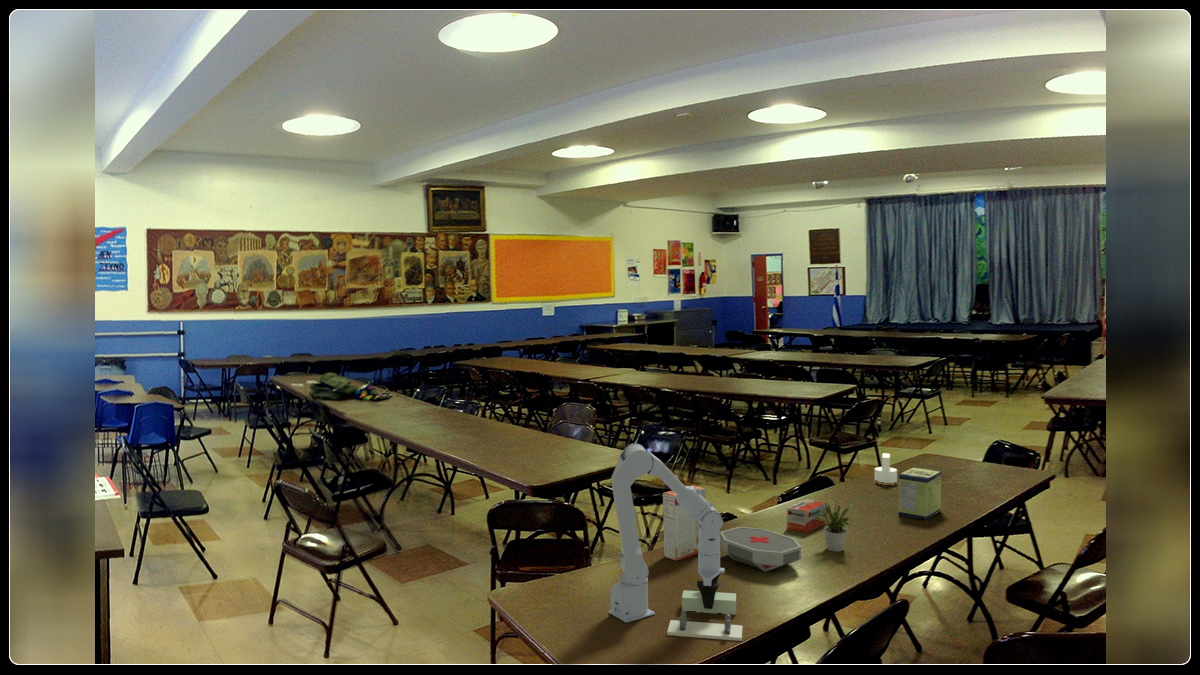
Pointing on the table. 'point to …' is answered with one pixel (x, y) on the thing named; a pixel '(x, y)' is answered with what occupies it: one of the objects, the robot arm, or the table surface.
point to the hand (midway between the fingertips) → (709, 602)
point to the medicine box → (805, 516)
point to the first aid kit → (760, 547)
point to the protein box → (919, 493)
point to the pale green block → (722, 604)
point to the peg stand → (705, 629)
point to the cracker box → (679, 528)
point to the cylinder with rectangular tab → (886, 471)
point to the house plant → (835, 528)
